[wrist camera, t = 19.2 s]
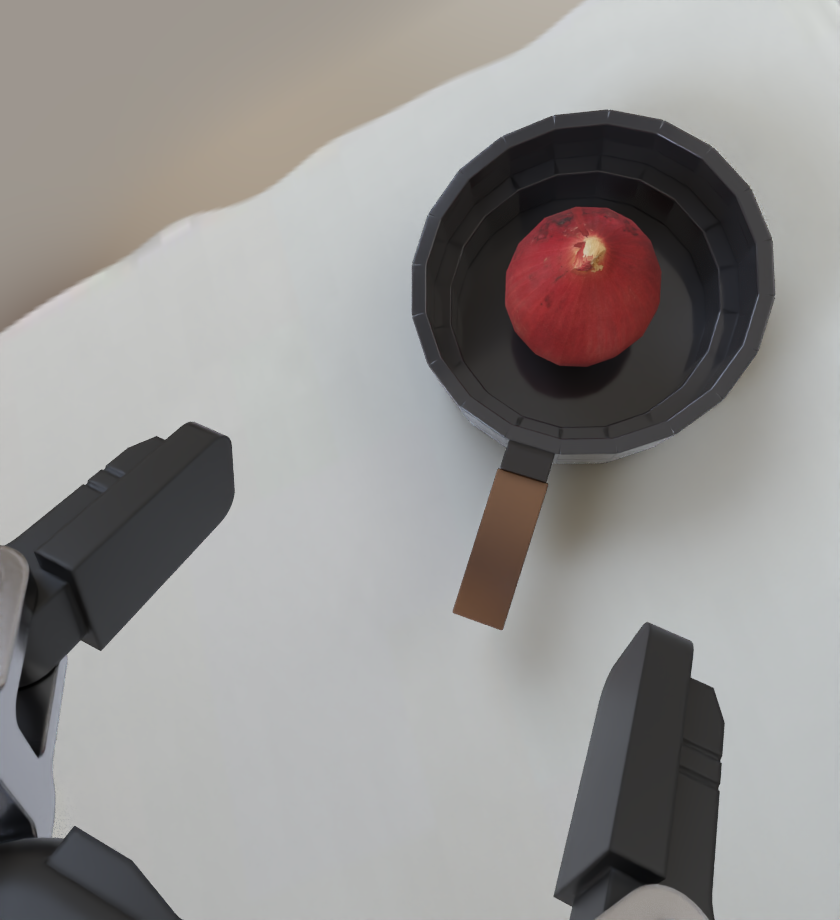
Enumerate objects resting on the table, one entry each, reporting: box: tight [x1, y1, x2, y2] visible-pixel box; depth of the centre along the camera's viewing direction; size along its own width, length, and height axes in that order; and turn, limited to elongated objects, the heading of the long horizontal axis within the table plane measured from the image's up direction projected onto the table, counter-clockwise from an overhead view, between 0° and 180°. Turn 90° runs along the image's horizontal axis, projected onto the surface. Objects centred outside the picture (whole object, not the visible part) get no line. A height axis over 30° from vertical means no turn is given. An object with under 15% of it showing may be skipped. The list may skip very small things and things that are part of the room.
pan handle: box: [453, 441, 555, 630], centre depth 25 cm, size 7×2×2 cm, turn 163°
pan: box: [412, 110, 775, 464], centre depth 27 cm, size 13×13×5 cm
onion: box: [505, 207, 661, 367], centre depth 25 cm, size 6×6×8 cm
